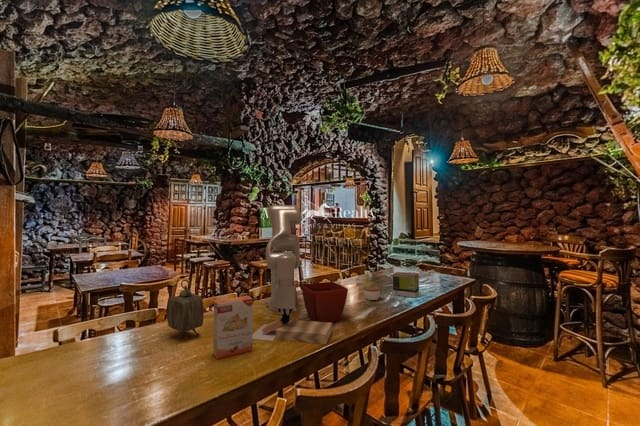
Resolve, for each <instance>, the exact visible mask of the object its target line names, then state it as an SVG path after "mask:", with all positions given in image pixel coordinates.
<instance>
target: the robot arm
mask: <svg viewBox="0 0 640 426" xmlns="http://www.w3.org/2000/svg"><path fill="white" fill-rule="evenodd" d="M267 216H268V219H269V222H270V225H271V238H270V239H269V240H268V242H267V245H266V247H265V262H266V263H265V264H266V266H267V268H269V269H270V281H271V283H270V289H271V291H270V293H271V294H270V296H271V297H270V298H271V299H265V300H264V304H267V305H268V309H269V310H270V311H274V312H279V313H280V315H281V318H282V321H283V324H287V323H288V322H289V320H291V319H290V317H291V316H290V314H291V313H292V312H296V311H298V291H297V287H296V284H295V270H297V269H299V268H300V265H301V252H300V251H301V249H300V247H301V244H300V243H301V242H300V237H299V236H298V235H297V234H292V229H291V228H292V227H291V225H300V224H301V222H302V212H301V209H300V208H299V206H298V205H294V204H293V205H292V204H288V205H287V204H273V205H270V206H269V207H268V208H267ZM273 250H274V251H276V252H272V251H273Z"/></svg>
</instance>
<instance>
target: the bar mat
mask: <svg viewBox="0 0 640 426" xmlns="http://www.w3.org/2000/svg"><path fill="white" fill-rule="evenodd" d="M268 324H269V323H264V324H263V325H262V326H260V327H259V328H258V329H257V330H256V331H255V332H253V340H254V341H266V342H273V341H274V340H276V330H277V329H278V328H277V329H275V330H273V331H271V332H269V333H267V334H265V335H264V333H263V331H262V329H263V328H264V327H265V326H266V325H268Z"/></svg>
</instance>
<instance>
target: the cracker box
mask: <svg viewBox="0 0 640 426" xmlns="http://www.w3.org/2000/svg"><path fill="white" fill-rule="evenodd" d="M253 320H254V298H252V297H251V296H249V295H243V296H236V297H229V298H221V299H216V300H215V299H214V300H213V346H212V347H213V351H212V352H213V356H215V358H216V360H219V359H223V358H226V357H227V358H228V357H231V356H236V355H239V354H244V353H247V352H253V344H254V343H253V342H254V341H253V334H254V332H253V329H254V321H253Z"/></svg>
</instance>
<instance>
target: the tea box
mask: <svg viewBox="0 0 640 426" xmlns="http://www.w3.org/2000/svg"><path fill="white" fill-rule="evenodd" d="M419 281H420V277H419V273H418V272H417V273H416V272H406V271H405V272H404V271H396V272H394V273H393V274H392V289H393V290H392V294H394V295H393V296H397V295H400V296H399V297H405V296H406V297H405V298H414V299H416V298H417V297H419V296H420V282H419Z"/></svg>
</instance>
